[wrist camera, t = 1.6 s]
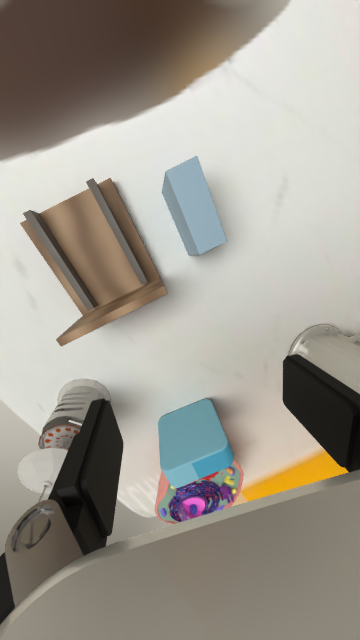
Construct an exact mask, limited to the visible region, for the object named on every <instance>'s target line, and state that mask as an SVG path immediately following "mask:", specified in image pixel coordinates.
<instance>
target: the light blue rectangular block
mask: <svg viewBox="0 0 360 640" xmlns="http://www.w3.org/2000/svg"><path fill="white" fill-rule="evenodd" d="M162 194H163V196H164V199H165V201H166V203H167V206H168V208H169V210H170V213H171V215H172V217H173V220H174V222H175V225H176V227H177V229H178V232H179V234H180V236H181V239H182V241H183V243H184V246H185V248H186V250H187V253H188V255H200V254H202V253H204V252H206V251H208V250H210V249H212V248H214V247H216V246H218V245H220V244H222V243H224V242H226V241H227V239H226V236H225V234H224V231H223V228H222V225H221V222H220V219H219V217H218V214H217V211H216V208H215V205H214V202H213V199H212V197H211V194H210V191H209V188H208V185H207V182H206V180H205V177H204V174H203V171H202V168H201V165H200V162H199V160H198V157H197V156H195V157H193V158H191V159H189V160H187V161H185V162H183V163H181V164H179V165H177V166H175V167H173V168H171V169H169V170H167V171H166V172H165V178H164V183H163V189H162Z"/></svg>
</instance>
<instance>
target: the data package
mask: <svg viewBox="0 0 360 640" xmlns="http://www.w3.org/2000/svg"><path fill="white" fill-rule="evenodd" d="M158 428H159V447H160V466H161V469H162V471H163V473H164V474H165V476H166V478H167V479H168V481H169V483H170V484H171V486H172V487H174V488H179V487H182V486H184V485H187V484H189V483H191V482H194V481H196V480H198V479H201V478H203V477H206V476H208V475H210V474H213V473H215V472H218V471H220V470H222V469H225V468H227V467H229V466H230V465H231V464H232V463H233V461H234V454H233V452H232V449H231V446H230V444H229V441H228V439H227V436H226V434H225V432H224V429H223V427H222V425H221V422H220V420H219V418H218V415H217V413H216V411H215V408H214V406H213V403H212V401H211V400H209V399H203V400H200V401H198V402H195V403H193V404H190V405H188V406H186V407H183V408H181V409H178V410H176V411H173V412H171V413H168V414H166V415H164V416H162V417H161V418H160V420H159V422H158Z"/></svg>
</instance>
